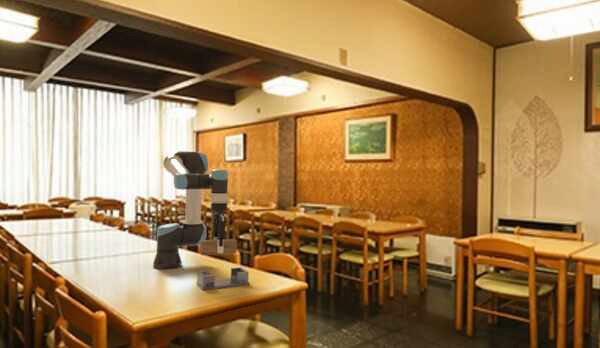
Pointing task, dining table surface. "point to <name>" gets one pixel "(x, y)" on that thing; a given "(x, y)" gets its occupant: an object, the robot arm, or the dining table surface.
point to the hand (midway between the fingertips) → (218, 251)
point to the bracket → (237, 279)
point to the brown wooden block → (211, 247)
